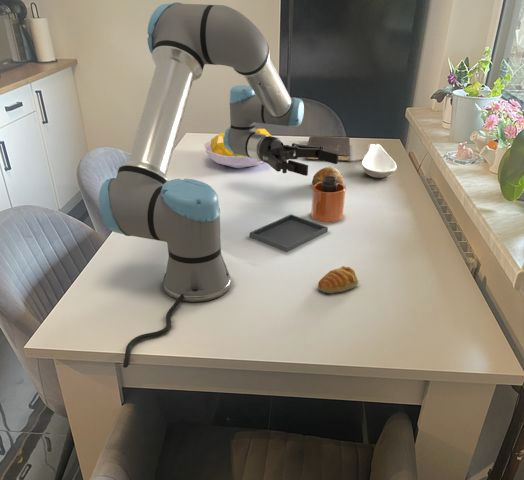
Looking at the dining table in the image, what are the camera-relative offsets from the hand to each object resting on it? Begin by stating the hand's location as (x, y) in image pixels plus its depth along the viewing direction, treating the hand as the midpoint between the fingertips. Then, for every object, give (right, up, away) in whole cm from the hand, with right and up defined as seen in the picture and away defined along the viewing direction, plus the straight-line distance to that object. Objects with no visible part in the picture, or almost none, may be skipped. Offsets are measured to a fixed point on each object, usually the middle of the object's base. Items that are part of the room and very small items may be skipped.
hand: (322, 164), depth 150 cm
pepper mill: (+2, -12, +7) cm, 14 cm away
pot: (+2, -13, +7) cm, 15 cm away
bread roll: (+4, +2, +27) cm, 28 cm away
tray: (-10, -20, -3) cm, 23 cm away
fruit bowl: (-24, +18, +48) cm, 57 cm away
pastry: (+1, -37, -24) cm, 44 cm away
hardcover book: (+8, +25, +58) cm, 64 cm away
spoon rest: (+23, +12, +41) cm, 49 cm away
